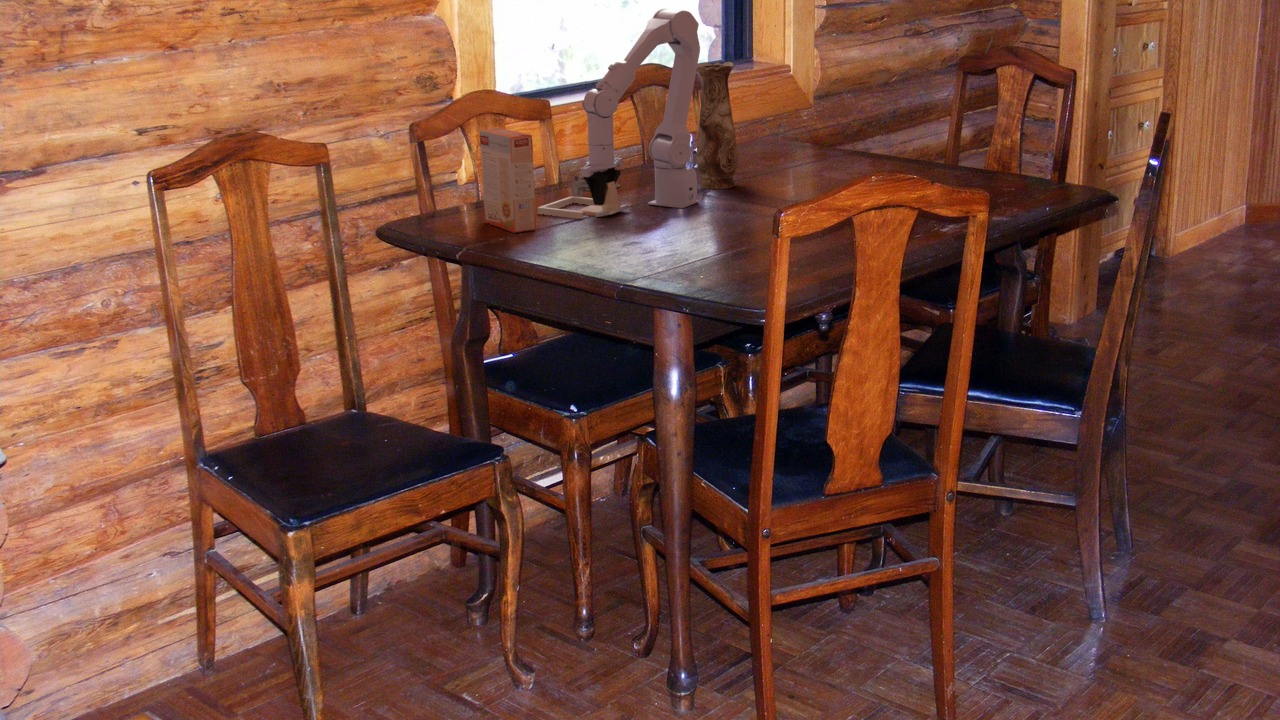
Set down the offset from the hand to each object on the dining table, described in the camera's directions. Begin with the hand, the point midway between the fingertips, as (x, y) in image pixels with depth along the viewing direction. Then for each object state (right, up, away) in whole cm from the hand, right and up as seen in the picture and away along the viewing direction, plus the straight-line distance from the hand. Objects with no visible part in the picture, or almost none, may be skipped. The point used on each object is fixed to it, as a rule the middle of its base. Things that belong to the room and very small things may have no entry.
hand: (602, 203), depth 290 cm
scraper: (+2, -2, -1) cm, 3 cm away
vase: (+28, +8, +28) cm, 40 cm away
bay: (-6, -1, +4) cm, 8 cm away
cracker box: (-20, -7, -10) cm, 23 cm away
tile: (-2, -2, +2) cm, 4 cm away
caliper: (-2, +5, +22) cm, 23 cm away
